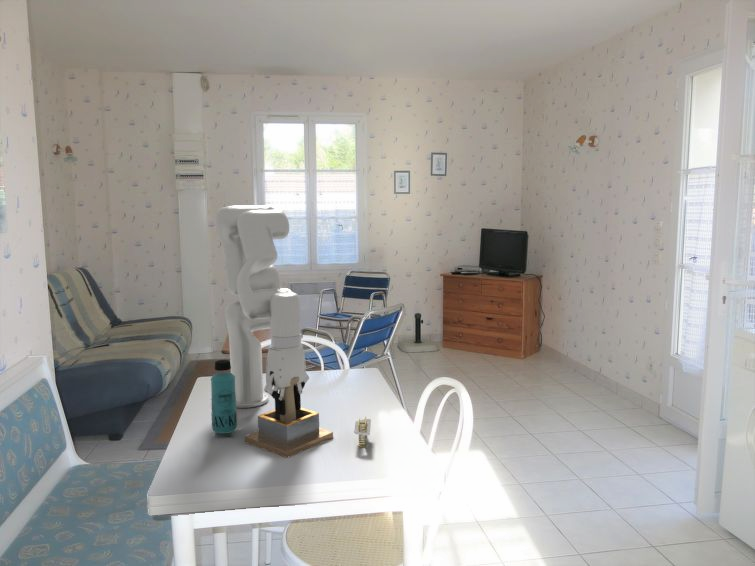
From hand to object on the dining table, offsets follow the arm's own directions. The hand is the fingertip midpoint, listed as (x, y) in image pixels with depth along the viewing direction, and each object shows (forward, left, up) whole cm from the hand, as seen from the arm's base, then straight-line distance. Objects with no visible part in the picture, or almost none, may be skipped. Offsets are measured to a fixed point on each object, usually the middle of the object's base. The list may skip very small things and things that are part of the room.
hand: (288, 410), depth 155 cm
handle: (0, 0, -6) cm, 6 cm away
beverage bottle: (-16, -8, -8) cm, 20 cm away
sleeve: (0, 0, -8) cm, 8 cm away
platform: (+17, +10, -8) cm, 21 cm away
